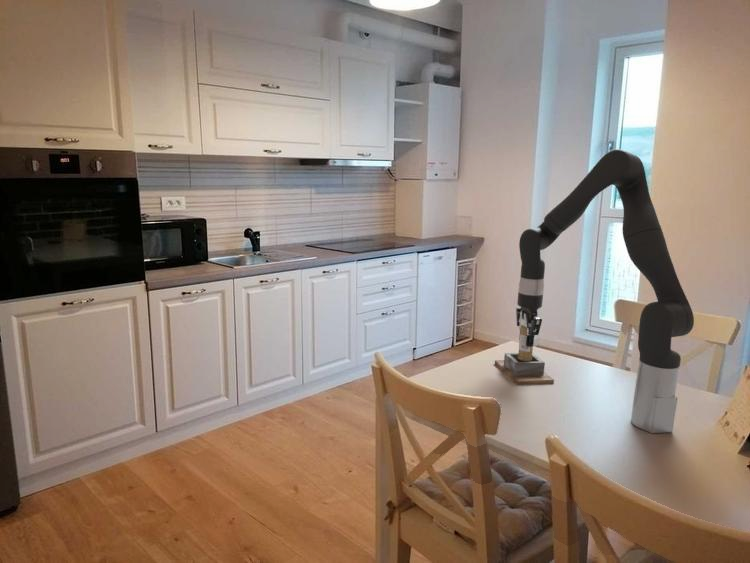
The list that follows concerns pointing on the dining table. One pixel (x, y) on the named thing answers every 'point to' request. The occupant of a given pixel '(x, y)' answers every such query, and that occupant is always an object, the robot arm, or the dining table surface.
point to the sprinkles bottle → (524, 344)
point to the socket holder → (524, 369)
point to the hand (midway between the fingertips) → (526, 343)
